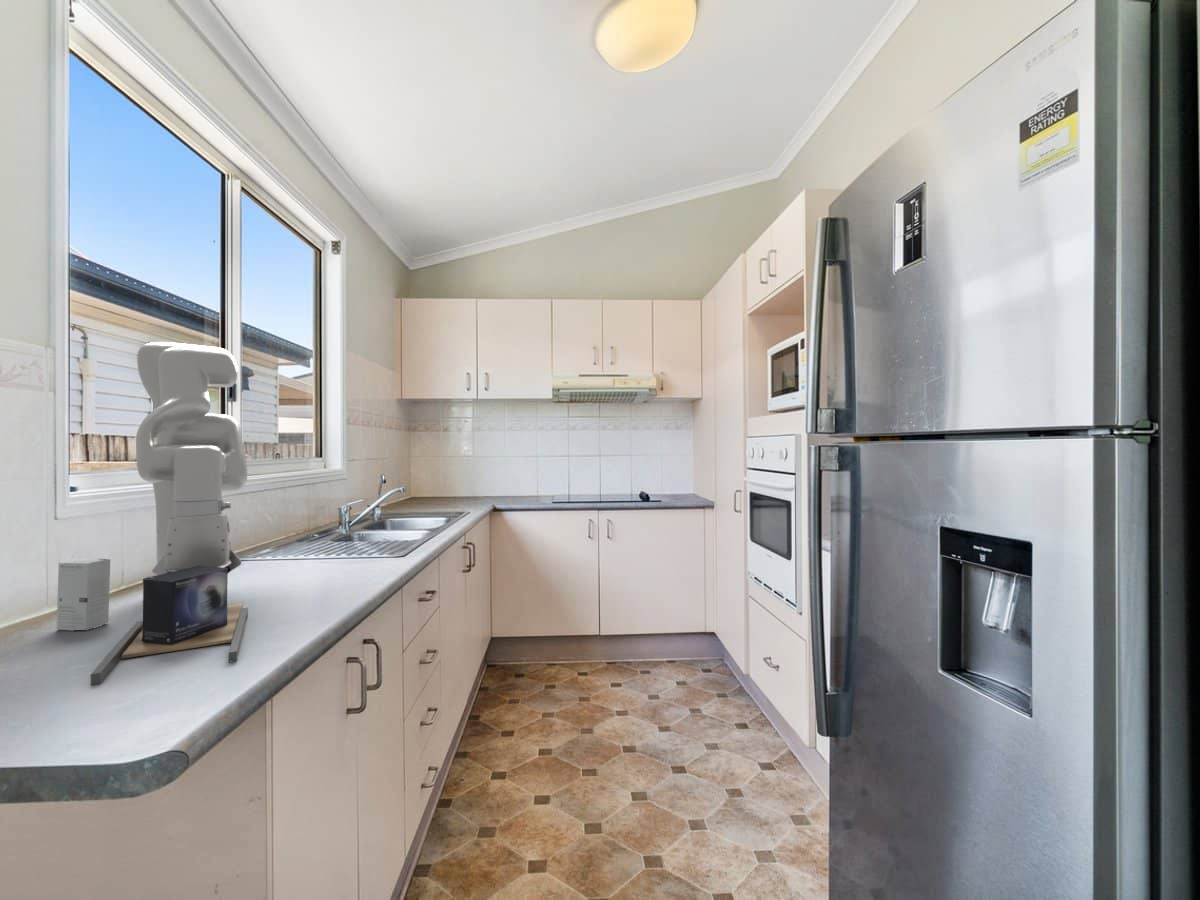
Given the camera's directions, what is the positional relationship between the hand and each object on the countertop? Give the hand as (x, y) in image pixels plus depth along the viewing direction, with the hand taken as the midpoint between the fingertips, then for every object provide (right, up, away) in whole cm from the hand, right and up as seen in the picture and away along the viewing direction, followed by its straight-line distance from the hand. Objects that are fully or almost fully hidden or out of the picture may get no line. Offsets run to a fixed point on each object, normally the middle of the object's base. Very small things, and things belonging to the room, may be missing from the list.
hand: (199, 602), depth 106 cm
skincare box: (-15, -3, -7) cm, 17 cm away
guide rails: (+9, -2, -16) cm, 19 cm away
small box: (+8, -2, -13) cm, 15 cm away
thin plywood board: (+5, -2, -9) cm, 11 cm away
